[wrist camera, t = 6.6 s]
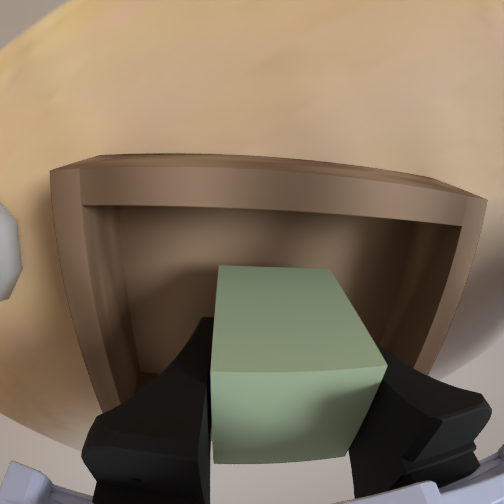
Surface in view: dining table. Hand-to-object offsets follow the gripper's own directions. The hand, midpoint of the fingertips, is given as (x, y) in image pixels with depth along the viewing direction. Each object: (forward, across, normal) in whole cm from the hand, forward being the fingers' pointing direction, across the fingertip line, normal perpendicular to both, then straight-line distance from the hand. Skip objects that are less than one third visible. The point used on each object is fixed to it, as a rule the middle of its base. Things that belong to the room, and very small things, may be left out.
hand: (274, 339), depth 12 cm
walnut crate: (+4, 0, 0) cm, 4 cm away
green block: (+2, 0, 0) cm, 2 cm away
